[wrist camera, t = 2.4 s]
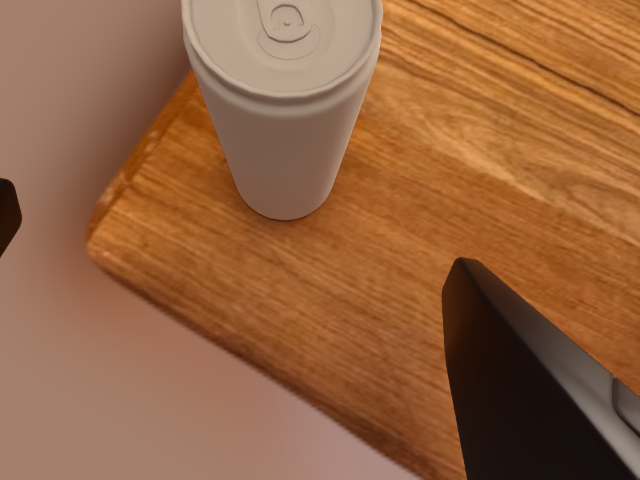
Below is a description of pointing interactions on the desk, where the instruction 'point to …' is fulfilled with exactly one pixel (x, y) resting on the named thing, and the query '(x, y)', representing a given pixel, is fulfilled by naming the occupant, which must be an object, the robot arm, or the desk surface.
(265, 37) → the beverage can
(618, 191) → the desk surface
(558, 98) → the desk surface
